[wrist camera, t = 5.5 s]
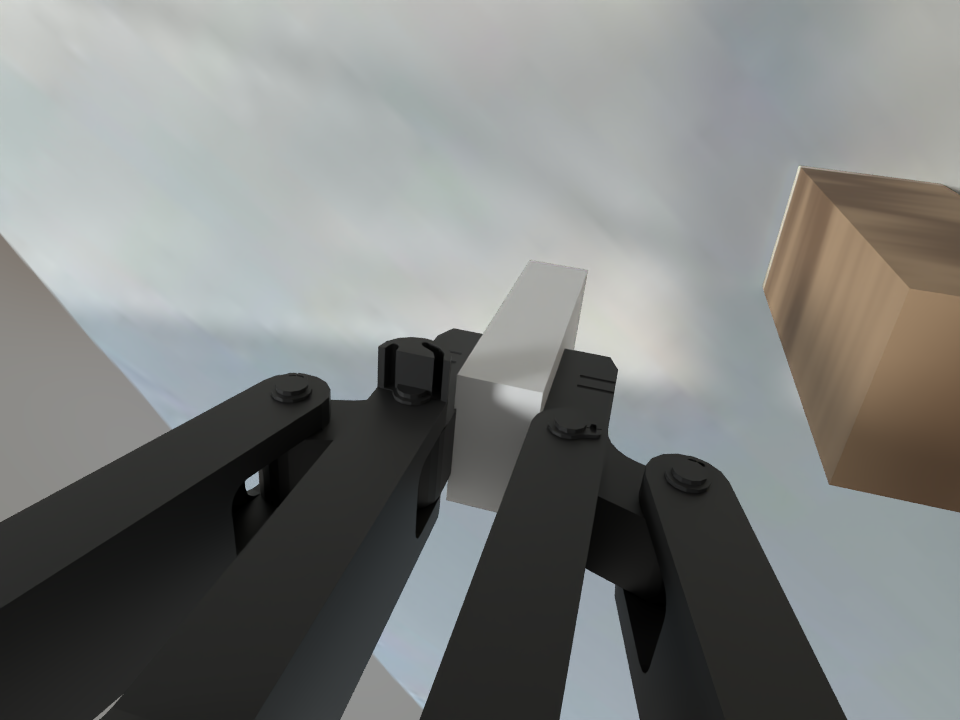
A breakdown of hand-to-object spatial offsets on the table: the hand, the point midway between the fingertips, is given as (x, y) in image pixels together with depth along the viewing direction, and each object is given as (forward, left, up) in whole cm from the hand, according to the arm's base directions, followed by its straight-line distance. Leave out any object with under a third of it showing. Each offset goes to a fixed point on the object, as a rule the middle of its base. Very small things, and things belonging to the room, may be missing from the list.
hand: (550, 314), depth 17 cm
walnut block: (+10, 0, -13) cm, 16 cm away
